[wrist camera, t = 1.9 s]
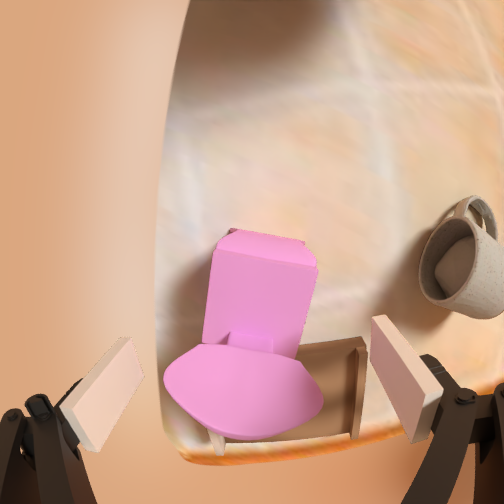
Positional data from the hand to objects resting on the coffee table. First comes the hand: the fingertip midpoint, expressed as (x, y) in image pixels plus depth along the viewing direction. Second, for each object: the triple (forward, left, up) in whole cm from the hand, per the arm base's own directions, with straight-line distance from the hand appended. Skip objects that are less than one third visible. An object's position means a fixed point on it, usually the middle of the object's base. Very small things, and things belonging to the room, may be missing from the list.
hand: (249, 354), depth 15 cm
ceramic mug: (-1, +19, -12) cm, 23 cm away
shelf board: (+13, +1, -11) cm, 17 cm away
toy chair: (0, 0, -11) cm, 11 cm away
